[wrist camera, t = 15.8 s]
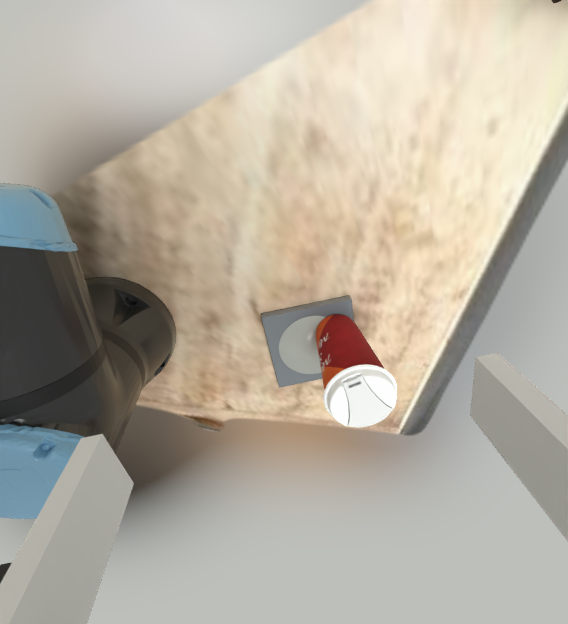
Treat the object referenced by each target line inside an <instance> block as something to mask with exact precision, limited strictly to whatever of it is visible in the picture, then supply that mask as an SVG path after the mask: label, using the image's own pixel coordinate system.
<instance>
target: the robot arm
mask: <svg viewBox="0 0 568 624" xmlns="http://www.w3.org/2000/svg"><path fill="white" fill-rule="evenodd" d="M77 250H78V248H77V245H76V244H75V243H74V242H72V239H71V237H70V234H69V232H68V229H67V227H66V224H65V222H64V219H63V216H62V214H61V211H60V209H59V207H58V205H57V203H56V202H55V201H54V199H53V198H52V197H51V196H49V195H48V194H46V193H45V192H43V191H42V190H40V189H37V188H35V187H31V186H26V185H19V184H5V183H0V517H2V518H12V519H36V520H35V522H34V524H33V526H32V527H31V529H30V531H29V533H28V535H27V537H26V539H25V540H24V542H23V544H22V546H21V547H20V549H19V551H18V553H17V554H16V557H15V558H14V560H13V562H12V563H7V564H2V565H0V624H87V622H88V619H89V616H90V613H91V610H92V607H93V604H94V601H95V598H96V595H97V592H98V589H99V586H100V583H101V580H102V577H103V574H104V571H105V568H106V565H107V562H108V559H109V556H110V553H111V550H112V547H113V544H114V541H115V538H116V535H117V532H118V529H119V526H120V523H121V520H122V517H123V514H124V511H125V508H126V505H127V502H128V499H129V496H130V493H131V490H132V487H133V484H134V483H133V482H132V480H131V478H130V477H129V475H128V474H127V472H126V470H125V469H124V467H123V466H122V464H121V463H120V461H119V459H118V458H117V456H116V455H115V453H116V450H117V448H118V446H119V443H120V441H121V439H122V436H123V434H124V431H125V429H126V426H127V424H128V421H129V419H130V417H131V414H132V412H133V410H134V407H135V405H136V402H137V400H138V398H139V395H140V393H141V390H142V388H143V387H144V386H145V385H146V384H148V383H149V382H150V381H151V380H152V379H153V378H154V377H155V376H156V375H158V374H159V373H160V372H161V371H162V370H163V369H164V367H165V366H166V364H167V363H168V361H169V359H170V357H171V355H172V352H173V349H174V346H175V342H176V329H175V324H174V321H173V318H172V316H171V314H170V312H169V311H168V309H167V308H166V306H165V305H164V304H163V303H162V302H161V301H160V299H159V298H157V297H156V296H155V295H154V294H153V293H151V292H150V291H148V290H147V289H145V288H143V287H142V286H140V285H137V284H135V283H133V282H130V281H127V280H123V279H118V278H110V277H100V278H92V279H88V280H85V278H84V274H83V271H82V268H81V265H80V262H79V258H78V255H77V252H76V251H77ZM471 401H472V402H471V410H470V416H471V417H472V418H473V420H474V421H475V422H476V424H477V425H478V426H479V427H480V429H481V430H482V431H483V432H484V434H485V435H486V436H487V438H488V439H489V440H490V442H491V443H492V444H493V446H494V447H495V448H496V449H497V451H498V452H499V453H500V454H501V456H502V457H503V458H504V460H505V461H506V462H507V464H508V465H509V466H510V467H511V469H512V470H513V471H514V473H515V474H516V475H517V477H518V478H519V479H520V480H521V482H522V483H523V484H524V485H525V487H526V488H527V489H528V491H529V492H530V493H531V495H532V496H533V497H534V498H535V500H536V501H537V502H538V504H539V505H540V506H541V508H542V509H543V510H544V511H545V513H546V514H547V515H548V516H549V518H550V519H551V520H552V522H553V523H554V524H555V526H556V527H557V528H558V529H559V531H560V532H561V533H562V535H563V536H564V537H565V539H566V540H567V541H568V415H567V414H566V413H565V412H564V411H563V410H562V409H560V408H559V407H558V406H557V405H556V404H555V403H554V402H553V401H551V400H550V399H549V398H548V397H547V396H546V395H545V394H543V393H542V392H541V391H540V390H539V389H538V388H537V387H536V386H535V385H533V384H532V383H531V382H530V381H529V380H528V379H527V378H526V377H524V376H523V375H522V374H521V373H520V372H519V371H518V370H517V369H515V368H514V367H513V366H512V365H511V364H510V363H509V362H508V361H506V360H505V359H504V358H503V357H502V356H501V355H500V354H499V353H494V354H489V355H484V356H479V357H476V359H475V370H474V379H473V390H472V400H471Z"/></svg>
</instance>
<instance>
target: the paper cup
mask: <svg viewBox="0 0 568 624" xmlns="http://www.w3.org/2000/svg"><path fill="white" fill-rule="evenodd" d="M316 342H317V348H318V354H319V360H320V366H321V372H322V378H323V383H324V389H325V391H324V395H323V400H324V405H325V407H326V409H327V411H328V412H329V413H330V414H331V415H332V416H333V417H334V418H335V419H336V420H337V421H338V422H339V423H341V424H343V425H345V426H350V427H366V426H370V425H373V424H376V423H378V422H380V421H381V420H383V419H384V418H386V417H387V416H388V415H389V414H390V412H391V411H392V410H393V409H394V407H395V404H396V399H397V384H396V381H395V379H394V377H393V376H392V375H391V373H389V372H388V371H387V370H385V369H384V367H383V366H382V364H381V363H380V361H379V359H378V358H377V356H376V355H375V353H374V352H373V350H372V349H371V347H370V345H369V344H368V342H367V341H366V339H365V338H364V336H363V335H362V333H361V332H360V330H359V329H358V327H357V326H356V324H355V323H354V322H353V320H352V319H351V318H349V317H348V316H346V315H342V314H333V315H330V316H327V317H326V318H324V319H323V320H322V321H321V322H320V323H319V324H318V326H317V329H316Z"/></svg>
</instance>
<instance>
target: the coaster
mask: <svg viewBox="0 0 568 624" xmlns="http://www.w3.org/2000/svg"><path fill="white" fill-rule="evenodd" d="M333 314H342V315H346V316H348V317H349V318H351V319H352V320H353V322H354V318H353V309H352V299H351V298H350V296H344V297H339V298H334V299H329V300H325V301H320V302H315V303H310V304H306V305H301V306H296V307H291V308H286V309H282V310H277V311H272V312H267V313H262V314H261V316H262V321H263V325H264V329H265V333H266V337H267V341H268V345H269V349H270V353H271V357H272V361H273V365H274V369H275V373H276V376H277V380H278V384H279V387H284V386H289V385H294V384H298V383H303V382H308V381H313V380H318V379H323V378H322V372H321V366H320V360H319V354H318V348H317V342H316V329H317V326H318V324H319V323H320V322H321V321H322V320H323V319H324V318H326V317H327V316H330V315H333Z"/></svg>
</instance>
